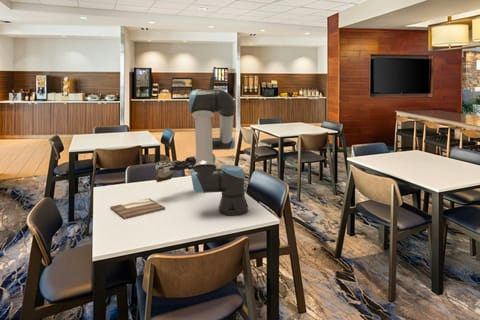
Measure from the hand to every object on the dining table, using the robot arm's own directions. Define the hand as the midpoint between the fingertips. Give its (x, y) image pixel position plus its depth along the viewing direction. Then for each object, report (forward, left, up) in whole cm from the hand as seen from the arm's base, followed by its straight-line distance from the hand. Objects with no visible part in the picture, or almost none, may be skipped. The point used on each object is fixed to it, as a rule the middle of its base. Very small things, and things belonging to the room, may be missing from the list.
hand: (161, 169), depth 201 cm
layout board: (-5, +17, -18) cm, 25 cm away
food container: (+4, -1, -6) cm, 8 cm away
